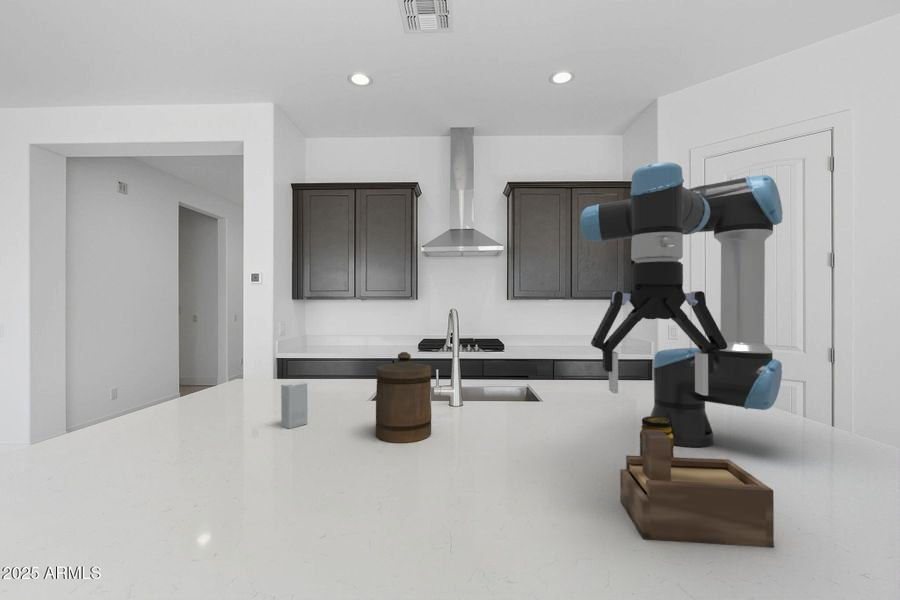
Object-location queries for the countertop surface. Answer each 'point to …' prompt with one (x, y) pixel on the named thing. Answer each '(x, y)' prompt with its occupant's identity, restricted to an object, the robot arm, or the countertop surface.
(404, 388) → the wooden container
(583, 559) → the countertop surface
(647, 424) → the condiment
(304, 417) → the skincare box
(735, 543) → the walnut box
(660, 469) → the cover plate
